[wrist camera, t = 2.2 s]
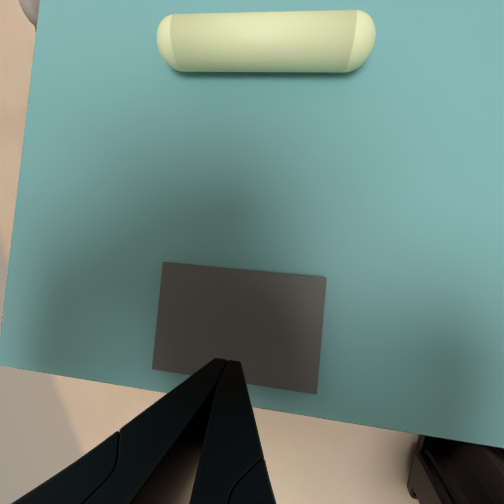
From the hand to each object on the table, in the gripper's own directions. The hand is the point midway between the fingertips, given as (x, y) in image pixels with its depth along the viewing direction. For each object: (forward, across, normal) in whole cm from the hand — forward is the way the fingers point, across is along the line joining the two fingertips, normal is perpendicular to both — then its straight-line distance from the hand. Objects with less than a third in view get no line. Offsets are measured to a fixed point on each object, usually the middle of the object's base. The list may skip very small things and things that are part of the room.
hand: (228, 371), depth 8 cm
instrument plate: (+4, 0, -6) cm, 7 cm away
